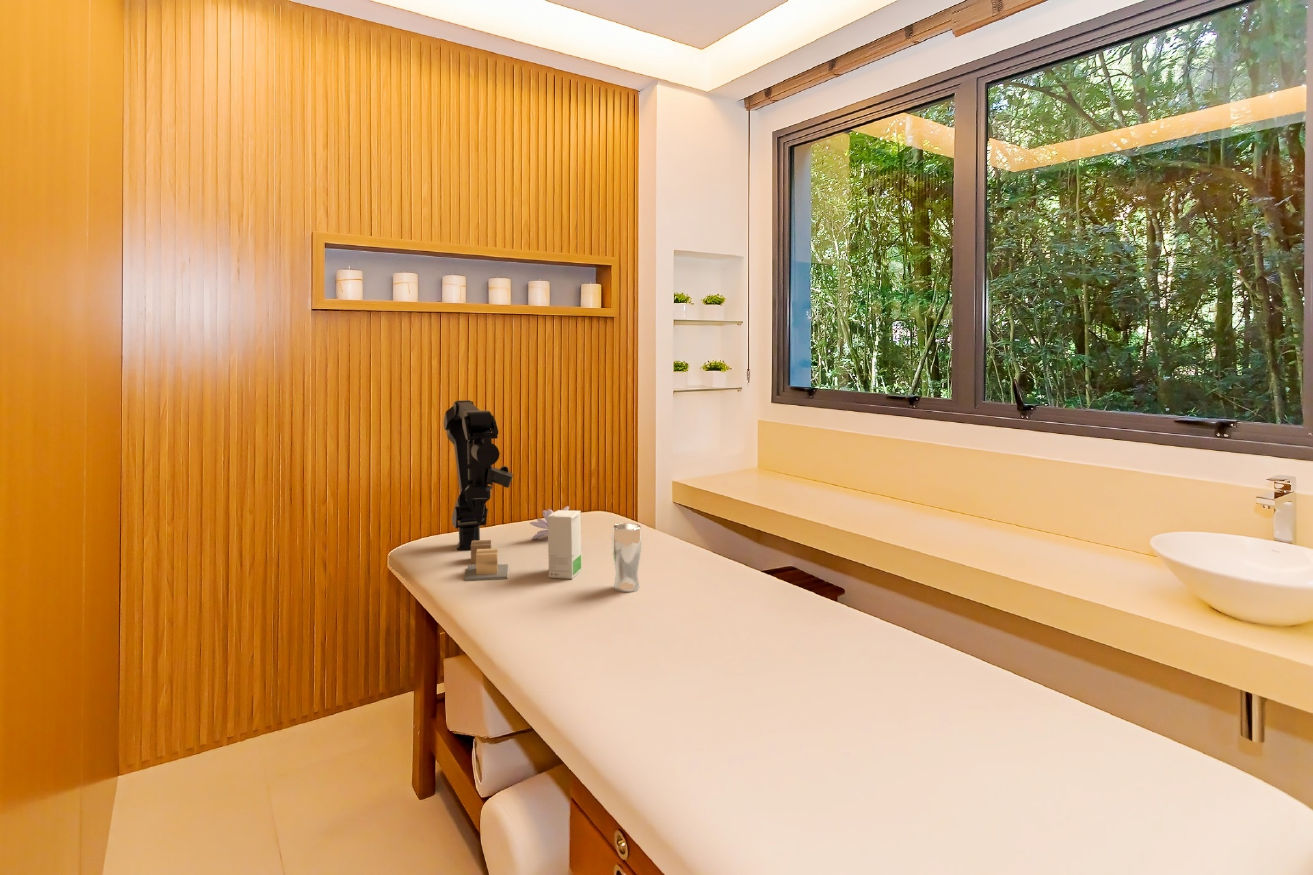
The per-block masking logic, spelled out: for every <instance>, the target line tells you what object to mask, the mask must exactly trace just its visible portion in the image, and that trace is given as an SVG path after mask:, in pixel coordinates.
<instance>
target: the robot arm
mask: <svg viewBox="0 0 1313 875" xmlns="http://www.w3.org/2000/svg"><path fill="white" fill-rule="evenodd" d="M443 429H444V431H445V432H446V437H447V439H448V440H449V441H450V442H451V444H452V445H453V447H454V456H455V464H456V471H457V480H458V482H457V483H458V488H459V494H458V497H457V499H456V501H455V503H454V508H453V511H452V516H451V520H452V521H451V522H452V526H453V527H454V528H455V529H458V544H457V546H456V550H471V542H472V541H475V540H481V536H480V535H481V533H480V532H481V530H480V527H481V526H487V523H488V522H487V521H488V520H487V518H488V513H489V509H488V508H487V505H486V503H488V501H489V500H490V499H491V497H492V490H493V486H494V484H497V485H499V486H503V488H506V489H509V488H510V486H511V482H512V480H513V477H514V473H512V472H510V471H509V467H508V466H506V465H502V466H500V468H498V467H497V468H496V467H493V465H495V464H496V463H497V462H498V460H499V459H500V454H501V453H500V450H499V448H498V447H497V445H496V444H495V443H493V441H492V440H493V439H494V440H495V439H496V440H497V439H498V438H499V429H498V425H497V421H496V419H495V416H494V415H493V414H492V412H491V411H490V410H480V409H479V408H478V407H476V406H475V405H474V402H473V400H470V399H469V400H468V399H467V400H464V399H463V400H456V401H453V405H452V406H451V407H450V408H448V409H447V410H446V411H445V413H444V417H443Z"/></svg>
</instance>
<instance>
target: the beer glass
mask: <svg viewBox="0 0 1313 875" xmlns="http://www.w3.org/2000/svg"><path fill="white" fill-rule="evenodd" d="M642 540H643V538H642V526H641V524H638V523H636V522H635V523H634V522H619V523H616V524H614V525H613V526H612V536H611V546H612V547H611V550H612V556H613V564H614V570H615V571H614V572H615V577H614V583H613V589H614V590H615V591H617V592H620V593H632V592H633V593H634V592H636V591H638V590H640V581H639V565H640V561H641V555H642V548H643V547H642V546H643V543H642Z"/></svg>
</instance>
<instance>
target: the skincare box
mask: <svg viewBox="0 0 1313 875" xmlns="http://www.w3.org/2000/svg"><path fill="white" fill-rule="evenodd" d="M581 512H582V511H581V510H569V509H568V510H563V509H557V510H555V511H553V513H552V514H550V515H549V516H548V529H547V530H548V534H547V544H548V545H547V547H548V548H547V549H548V551H547V552H548V553H547V554H548V578H551V579H563V580H565V579H567V580H568V579H569V580H573V579H574V578H575V577H576V576H577V575H578V574H579V573H580V572H581V571H582V568H583V567H582V532H581V531H582V524H581V522H582V518H581V516H582V514H581Z"/></svg>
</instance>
